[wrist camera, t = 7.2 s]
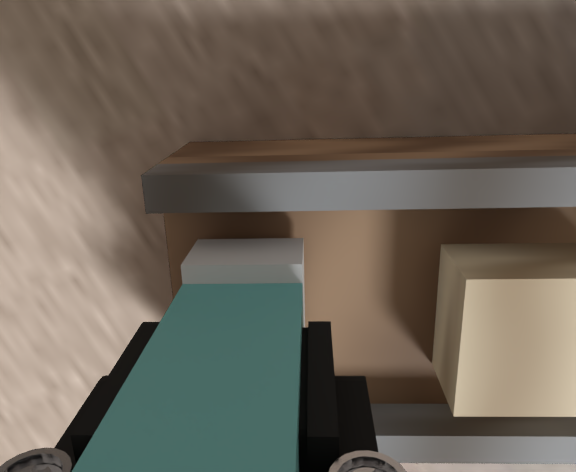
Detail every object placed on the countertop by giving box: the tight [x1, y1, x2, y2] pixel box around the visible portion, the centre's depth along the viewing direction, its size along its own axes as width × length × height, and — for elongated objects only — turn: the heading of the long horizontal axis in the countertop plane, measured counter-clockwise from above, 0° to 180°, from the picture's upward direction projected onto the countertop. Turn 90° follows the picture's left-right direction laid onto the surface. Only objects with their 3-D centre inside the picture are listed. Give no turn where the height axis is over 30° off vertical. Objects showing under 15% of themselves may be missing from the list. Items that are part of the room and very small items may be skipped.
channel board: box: [141, 134, 576, 464], centre depth 16 cm, size 18×9×6 cm, turn 92°
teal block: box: [72, 238, 305, 472], centre depth 10 cm, size 3×5×10 cm, turn 2°
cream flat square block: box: [432, 243, 576, 417], centre depth 14 cm, size 4×4×2 cm
